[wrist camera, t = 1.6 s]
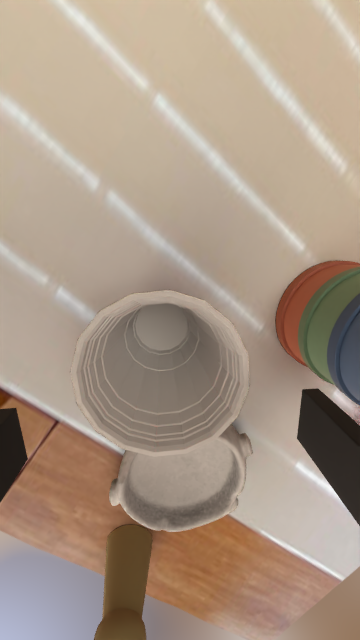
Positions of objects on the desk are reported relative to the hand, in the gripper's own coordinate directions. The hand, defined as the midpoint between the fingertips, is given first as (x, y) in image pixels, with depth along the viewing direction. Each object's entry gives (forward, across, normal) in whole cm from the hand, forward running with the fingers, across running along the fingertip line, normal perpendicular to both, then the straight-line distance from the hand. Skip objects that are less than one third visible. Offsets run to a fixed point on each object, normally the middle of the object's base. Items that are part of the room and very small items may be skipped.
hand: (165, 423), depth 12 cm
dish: (+16, +2, -16) cm, 22 cm away
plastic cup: (+16, 0, 0) cm, 16 cm away
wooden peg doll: (+16, -6, -30) cm, 34 cm away
